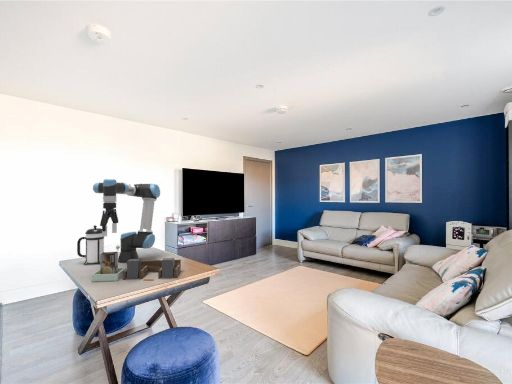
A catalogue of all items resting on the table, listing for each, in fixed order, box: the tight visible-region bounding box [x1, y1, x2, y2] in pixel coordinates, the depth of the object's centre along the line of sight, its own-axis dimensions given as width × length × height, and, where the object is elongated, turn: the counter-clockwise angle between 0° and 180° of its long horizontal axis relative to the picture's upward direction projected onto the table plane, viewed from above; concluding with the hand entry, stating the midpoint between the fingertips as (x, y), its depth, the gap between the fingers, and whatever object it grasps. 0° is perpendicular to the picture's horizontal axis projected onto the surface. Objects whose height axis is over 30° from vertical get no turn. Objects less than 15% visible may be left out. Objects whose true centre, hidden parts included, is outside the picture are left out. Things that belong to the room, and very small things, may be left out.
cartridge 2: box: [161, 257, 176, 279], centre depth 166 cm, size 5×7×12 cm
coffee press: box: [76, 224, 105, 266], centre depth 197 cm, size 17×16×30 cm
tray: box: [90, 267, 127, 283], centre depth 164 cm, size 14×16×4 cm
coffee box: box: [99, 251, 119, 274], centre depth 164 cm, size 9×6×16 cm
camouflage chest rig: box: [122, 259, 182, 282], centre depth 168 cm, size 19×34×8 cm, turn 97°
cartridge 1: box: [126, 258, 142, 281], centre depth 164 cm, size 5×7×12 cm
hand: (109, 234), depth 164 cm, fingers open, 13 cm apart
